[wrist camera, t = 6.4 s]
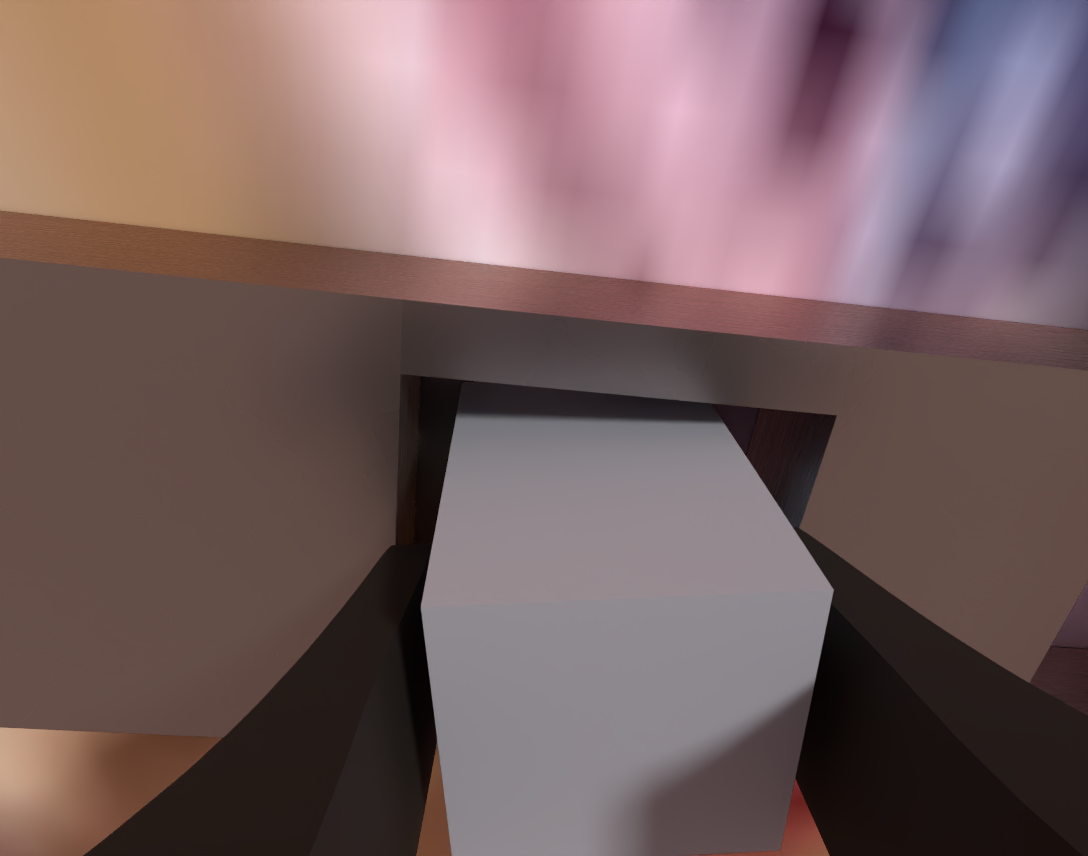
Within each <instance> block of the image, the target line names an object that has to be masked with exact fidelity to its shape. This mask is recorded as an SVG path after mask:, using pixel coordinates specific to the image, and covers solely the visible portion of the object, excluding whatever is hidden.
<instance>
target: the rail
mask: <svg viewBox="0 0 1088 856" xmlns="http://www.w3.org/2000/svg"><path fill="white" fill-rule="evenodd" d="M421 376H427V377H437V378H448V379H459V380H469V381H480V382H490V383H501V384H511V385H522V386H533V387H543V388H554V389H564V390H575V391H585V392H596V393H607V394H617V395H628V396H638V397H649V398H659V399H670V400H681V401H691V402H702V403H712V404H723V405H733V406H744V407H755V408H760V409H759V413H758V417H757V420H756V424H755V427H754V431H753V434H752V438H751V442H750V445H749V449H748V452H747V456H746V457H747V459H748V460H749V462H750V463H751V465H752V466H753V468H754V469H755V471H756V472H757V474H758V475H759V477H760V478H761V480H762V482H763V483H764V485H765V486H766V488H767V489H768V491H769V492H770V494H771V495H772V497H773V498H774V500H775V501H776V503H777V504H778V506H779V507H780V509H781V510H782V512H783V513H784V515H785V516H786V518H787V520H788V521H789V523H790V524H791V526H792V527H798V528H800V529H801V530H803V531H804V532H806V533H808V534H809V535H810V536H812V537H813V538H815V539H816V540H818V541H819V542H821V543H822V544H823V545H825V546H826V547H828V548H829V549H830V550H832V551H833V552H834V553H836V554H837V555H839V556H840V557H841V558H843V559H844V560H845V561H847V562H848V563H850V564H851V565H852V566H854V567H855V568H856V569H858V570H859V571H861V572H862V573H863V574H865V575H866V576H868V577H869V578H870V579H872V580H873V581H874V582H876V583H877V584H879V585H880V586H881V587H883V588H884V589H886V590H887V591H888V592H890V593H891V594H893V595H894V596H895V597H897V598H898V599H900V600H901V601H903V602H904V603H905V604H907V605H908V606H910V607H911V608H913V609H914V610H916V611H917V612H918V613H920V614H921V615H923V616H924V617H926V618H927V619H929V620H930V621H932V622H933V623H935V624H936V625H938V626H939V627H941V628H942V629H944V630H945V631H947V632H948V633H950V634H951V635H953V636H954V637H956V638H957V639H959V640H961V641H962V642H964V643H965V644H967V645H968V646H970V647H972V648H973V649H975V650H976V651H978V652H980V653H981V654H983V655H984V656H986V657H987V658H989V659H991V660H992V661H994V662H995V663H997V664H999V665H1000V666H1002V667H1003V668H1005V669H1007V670H1008V671H1010V672H1012V673H1013V674H1015V675H1017V676H1018V677H1020V678H1022V679H1024V680H1025V681H1027V682H1029V683H1030V684H1032V685H1034V686H1035V687H1037V688H1039V689H1041V690H1043V691H1044V692H1046V693H1048V694H1050V695H1052V696H1053V697H1055V698H1057V699H1059V700H1061V701H1063V702H1064V703H1066V704H1068V705H1070V706H1072V707H1073V708H1075V709H1077V710H1079V711H1081V712H1082V713H1084V714H1086V715H1088V649H1075V648H1060V647H1050V646H1051V644H1052V643H1053V641H1054V639H1055V637H1056V636H1057V634H1058V632H1059V630H1060V629H1061V627H1062V625H1063V623H1064V622H1065V620H1066V618H1067V616H1068V615H1069V613H1070V611H1071V610H1072V608H1073V606H1074V604H1075V603H1076V601H1077V599H1078V597H1079V596H1080V594H1081V592H1082V590H1083V589H1084V587H1085V585H1086V583H1087V582H1088V330H1081V329H1072V328H1063V327H1053V326H1044V325H1035V324H1026V323H1017V322H1008V321H999V320H990V319H981V318H972V317H962V316H953V315H944V314H935V313H926V312H917V311H908V310H899V309H890V308H880V307H871V306H862V305H853V304H844V303H835V302H826V301H817V300H808V299H799V298H789V297H780V296H771V295H762V294H753V293H744V292H735V291H726V290H717V289H707V288H698V287H689V286H680V285H671V284H662V283H653V282H644V281H635V280H626V279H616V278H607V277H598V276H589V275H580V274H571V273H562V272H553V271H544V270H534V269H525V268H516V267H507V266H498V265H489V264H480V263H471V262H462V261H452V260H443V259H434V258H425V257H416V256H407V255H398V254H389V253H380V252H371V251H361V250H352V249H343V248H334V247H325V246H316V245H307V244H298V243H289V242H279V241H270V240H261V239H252V238H243V237H234V236H225V235H216V234H207V233H198V232H188V231H179V230H170V229H161V228H152V227H143V226H134V225H125V224H116V223H106V222H97V221H88V220H79V219H70V218H61V217H52V216H43V215H34V214H25V213H15V212H6V211H0V727H6V728H27V729H48V730H70V731H91V732H112V733H134V734H155V735H176V736H197V737H219V738H223V737H224V736H226V735H227V734H228V733H229V732H230V731H231V730H232V729H233V728H234V727H235V726H236V725H237V724H238V723H239V722H240V721H241V720H242V719H243V718H244V717H245V716H246V715H247V714H248V713H249V712H250V711H251V710H252V709H253V708H254V707H255V706H256V705H257V704H258V703H259V702H260V701H261V700H262V699H263V698H264V697H265V695H266V694H267V693H268V692H269V691H270V690H271V689H272V688H273V687H274V686H275V685H276V683H277V682H278V681H279V680H280V679H281V678H282V677H283V676H284V675H285V674H286V673H287V672H288V670H289V669H290V668H291V667H292V666H293V665H294V664H295V663H296V662H297V661H298V660H299V658H300V657H301V656H302V655H303V654H304V653H305V652H306V651H307V649H308V648H309V647H310V646H311V645H312V644H313V642H314V641H315V640H316V639H317V638H318V636H319V635H320V634H321V633H322V632H323V630H324V629H325V628H326V627H327V626H328V624H329V623H330V622H331V621H332V619H333V618H334V617H335V616H336V615H337V613H338V612H339V611H340V610H341V609H342V607H343V606H344V605H345V604H346V602H347V601H348V600H349V598H350V597H351V596H352V595H353V593H354V592H355V591H356V589H357V588H358V587H359V586H360V584H361V583H362V582H363V580H364V579H365V578H366V576H367V575H368V574H369V572H370V571H371V570H372V568H373V567H374V566H375V564H376V563H377V562H378V560H379V559H380V558H381V556H382V555H383V554H384V552H385V551H386V550H387V549H388V548H389V547H390V546H391V545H410V544H414V521H415V497H416V474H417V451H418V428H419V405H420V382H421ZM436 748H438V741H437V744H436Z"/></svg>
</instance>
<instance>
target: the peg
mask: <svg viewBox="0 0 1088 856" xmlns="http://www.w3.org/2000/svg"><path fill="white" fill-rule="evenodd" d="M833 591H834V589H833V588H832V586H831V585H830V583H829V582H828V580H827V579H826V577H825V576H824V574H823V573H822V571H821V570H820V568H819V567H818V565H817V564H816V562H815V561H814V559H813V558H812V556H811V554H810V553H809V551H808V550H807V548H806V547H805V545H804V544H803V542H802V541H801V539H800V538H799V536H798V535H797V533H796V532H795V530H794V529H793V527H792V526H791V524H790V523H789V521H788V520H787V518H786V516H785V515H784V513H783V512H782V510H781V509H780V507H779V506H778V504H777V503H776V501H775V500H774V498H773V497H772V495H771V494H770V492H769V491H768V489H767V488H766V486H765V485H764V483H763V482H762V480H761V478H760V477H759V475H758V474H757V472H756V471H755V469H754V468H753V466H752V465H751V463H750V462H749V460H748V459H747V457H746V456H745V454H744V453H743V451H742V450H741V448H740V447H739V445H738V443H737V442H736V440H735V439H734V437H733V436H732V434H731V433H730V431H729V430H728V428H727V427H726V425H725V424H724V422H723V421H722V419H721V418H720V416H719V415H718V413H717V412H716V410H715V409H714V407H713V405H712V404H711V403H702V402H691V401H681V400H670V399H659V398H649V397H638V396H628V395H617V394H607V393H596V392H585V391H575V390H564V389H554V388H543V387H533V386H522V385H511V384H501V383H490V382H471V383H462V388H461V393H460V399H459V404H458V409H457V415H456V420H455V426H454V431H453V436H452V442H451V447H450V453H449V458H448V463H447V469H446V474H445V479H444V485H443V490H442V496H441V501H440V506H439V512H438V517H437V523H436V528H435V533H434V539H433V544H432V550H431V555H430V560H429V566H428V571H427V576H426V582H425V587H424V593H423V598H422V603H421V613H422V621H423V629H424V637H425V645H426V653H427V661H428V669H429V677H430V685H431V693H432V701H433V709H434V717H435V725H436V733H437V741H438V749H439V757H440V765H441V773H442V781H443V789H444V797H445V805H446V813H447V821H448V829H449V837H450V845H451V853H452V856H686V855H705V854H724V853H743V852H762V851H780V850H781V845H782V840H783V835H784V830H785V826H786V821H787V816H788V811H789V806H790V801H791V796H792V791H793V786H794V782H795V777H796V772H797V767H798V762H799V757H800V752H801V747H802V742H803V738H804V733H805V728H806V723H807V718H808V713H809V708H810V703H811V699H812V694H813V689H814V684H815V679H816V674H817V669H818V664H819V659H820V655H821V650H822V645H823V640H824V635H825V630H826V625H827V620H828V615H829V611H830V606H831V601H832V596H833Z"/></svg>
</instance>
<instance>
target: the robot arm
mask: <svg viewBox="0 0 1088 856" xmlns="http://www.w3.org/2000/svg"><path fill="white" fill-rule="evenodd" d="M793 529H794V530H795V532H796V533H797V535H798V536H799V538H800V539H801V541H802V542H803V544H804V545H805V547H806V548H807V550H808V551H809V553H810V554H811V556H812V558H813V559H814V561H815V562H816V564H817V565H818V567H819V568H820V570H821V571H822V573H823V574H824V576H825V577H826V579H827V580H828V582H829V583H830V585H831V586H832V588H833V589H834V591H833V596H832V601H831V606H830V611H829V615H828V620H827V625H826V630H825V635H824V640H823V645H822V650H821V655H820V659H819V664H818V669H817V674H816V679H815V684H814V689H813V694H812V699H811V703H810V708H809V713H808V718H807V723H806V728H805V733H804V738H803V742H802V747H801V752H800V757H799V762H798V767H797V772H796V777H795V779H796V781H797V783H798V785H799V788H800V790H801V792H802V794H803V796H804V799H805V801H806V803H807V805H808V808H809V810H810V812H811V814H812V817H813V819H814V821H815V823H816V826H817V828H818V830H819V832H820V835H821V837H822V839H823V841H824V844H825V846H826V848H827V850H828V852H829V855H830V856H1088V715H1086V714H1084V713H1082V712H1081V711H1079V710H1077V709H1075V708H1073V707H1072V706H1070V705H1068V704H1066V703H1064V702H1063V701H1061V700H1059V699H1057V698H1055V697H1053V696H1052V695H1050V694H1048V693H1046V692H1044V691H1043V690H1041V689H1039V688H1037V687H1035V686H1034V685H1032V684H1030V683H1029V682H1027V681H1025V680H1024V679H1022V678H1020V677H1018V676H1017V675H1015V674H1013V673H1012V672H1010V671H1008V670H1007V669H1005V668H1003V667H1002V666H1000V665H999V664H997V663H995V662H994V661H992V660H991V659H989V658H987V657H986V656H984V655H983V654H981V653H980V652H978V651H976V650H975V649H973V648H972V647H970V646H968V645H967V644H965V643H964V642H962V641H961V640H959V639H957V638H956V637H954V636H953V635H951V634H950V633H948V632H947V631H945V630H944V629H942V628H941V627H939V626H938V625H936V624H935V623H933V622H932V621H930V620H929V619H927V618H926V617H924V616H923V615H921V614H920V613H918V612H917V611H916V610H914V609H913V608H911V607H910V606H908V605H907V604H905V603H904V602H903V601H901V600H900V599H898V598H897V597H895V596H894V595H893V594H891V593H890V592H888V591H887V590H886V589H884V588H883V587H881V586H880V585H879V584H877V583H876V582H874V581H873V580H872V579H870V578H869V577H868V576H866V575H865V574H863V573H862V572H861V571H859V570H858V569H856V568H855V567H854V566H852V565H851V564H850V563H848V562H847V561H845V560H844V559H843V558H841V557H840V556H839V555H837V554H836V553H834V552H833V551H832V550H830V549H829V548H828V547H826V546H825V545H823V544H822V543H821V542H819V541H818V540H816V539H815V538H813V537H812V536H810V535H809V534H808V533H806V532H804V531H803V530H801V529H800V528H798V527H793ZM432 544H433V543H432ZM432 544H410V545H391V546H390V547H389V548H388V549H387V550H386V551H385V552H384V554H383V555H382V556H381V558H380V559H379V560H378V562H377V563H376V564H375V566H374V567H373V568H372V570H371V571H370V572H369V574H368V575H367V576H366V578H365V579H364V580H363V582H362V583H361V584H360V586H359V587H358V588H357V589H356V591H355V592H354V593H353V595H352V596H351V597H350V598H349V600H348V601H347V602H346V604H345V605H344V606H343V607H342V609H341V610H340V611H339V612H338V613H337V615H336V616H335V617H334V618H333V619H332V621H331V622H330V623H329V624H328V626H327V627H326V628H325V629H324V630H323V632H322V633H321V634H320V635H319V636H318V638H317V639H316V640H315V641H314V642H313V644H312V645H311V646H310V647H309V648H308V649H307V651H306V652H305V653H304V654H303V655H302V656H301V657H300V658H299V660H298V661H297V662H296V663H295V664H294V665H293V666H292V667H291V668H290V669H289V670H288V672H287V673H286V674H285V675H284V676H283V677H282V678H281V679H280V680H279V681H278V682H277V683H276V685H275V686H274V687H273V688H272V689H271V690H270V691H269V692H268V693H267V694H266V695H265V697H264V698H263V699H262V700H261V701H260V702H259V703H258V704H257V705H256V706H255V707H254V708H253V709H252V710H251V711H250V712H249V713H248V714H247V715H246V716H245V717H244V718H243V719H242V720H241V721H240V722H239V723H238V724H237V725H236V726H235V727H234V728H233V729H232V730H231V731H230V732H229V733H228V734H227V735H226V736H224V737H223V738H222V739H221V740H220V741H219V742H218V743H217V744H216V745H215V746H214V747H213V748H212V749H211V750H209V751H208V752H207V753H206V754H205V755H204V756H203V757H202V758H201V759H200V760H199V761H198V762H197V763H195V764H194V765H193V766H192V767H191V768H190V769H189V770H188V771H186V772H185V773H184V774H183V775H182V776H181V777H179V778H178V779H177V780H176V781H175V782H174V783H172V784H171V785H170V786H169V787H168V788H166V789H165V790H164V791H163V792H162V793H160V794H159V795H158V796H157V797H155V798H154V799H153V800H152V801H151V802H149V803H148V804H147V805H146V806H145V807H143V808H142V809H141V810H140V811H138V812H137V813H136V814H135V815H134V816H132V817H131V818H130V819H129V820H127V821H126V822H125V823H124V824H123V825H121V826H120V827H119V828H118V829H117V830H115V831H114V832H113V833H112V834H110V835H109V836H108V837H107V838H106V839H104V840H103V841H102V842H101V843H99V844H98V845H97V846H95V847H94V848H93V849H92V850H90V851H89V852H88V853H86V854H85V855H84V856H416V853H417V848H418V842H419V837H420V831H421V826H422V821H423V815H424V810H425V804H426V799H427V794H428V788H429V783H430V777H431V772H432V766H433V761H434V755H435V750H436V744H437V733H436V725H435V717H434V709H433V701H432V693H431V685H430V677H429V669H428V661H427V653H426V645H425V637H424V629H423V621H422V613H421V603H422V598H423V593H424V587H425V582H426V576H427V571H428V566H429V560H430V555H431V550H432Z"/></svg>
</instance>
